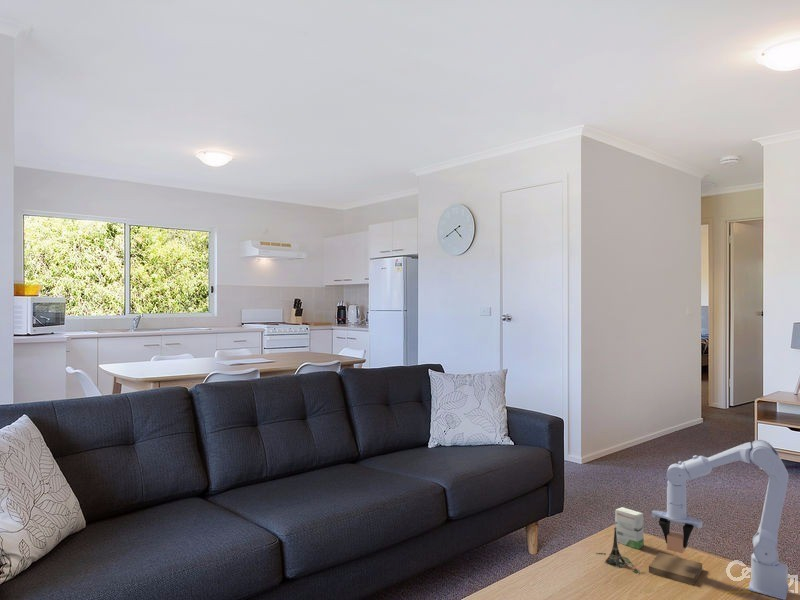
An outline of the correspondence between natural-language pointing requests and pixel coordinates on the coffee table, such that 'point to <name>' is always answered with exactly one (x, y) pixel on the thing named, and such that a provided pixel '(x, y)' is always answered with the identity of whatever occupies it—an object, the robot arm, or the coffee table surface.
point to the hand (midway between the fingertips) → (676, 544)
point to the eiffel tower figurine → (617, 556)
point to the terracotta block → (675, 542)
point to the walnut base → (675, 568)
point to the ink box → (629, 527)
